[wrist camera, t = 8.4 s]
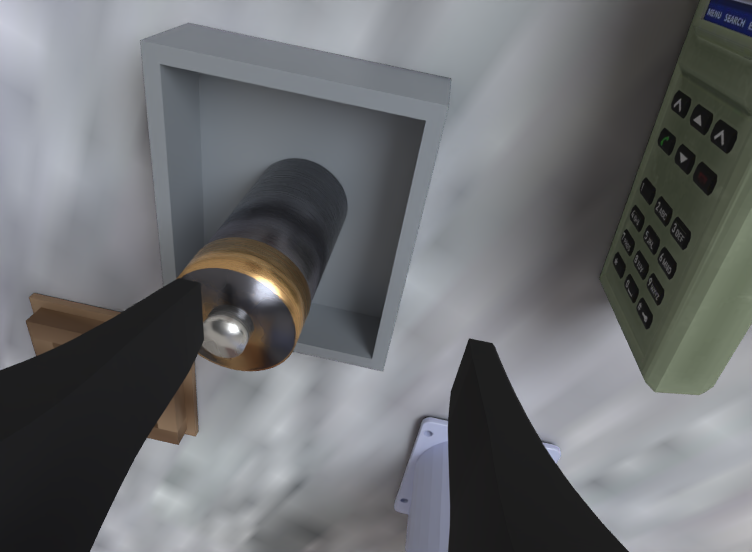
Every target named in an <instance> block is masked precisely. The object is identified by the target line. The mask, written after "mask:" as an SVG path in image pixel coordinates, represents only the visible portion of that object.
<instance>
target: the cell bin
mask: <svg viewBox="0 0 752 552" xmlns="http://www.w3.org/2000/svg"><path fill="white" fill-rule="evenodd" d="M140 45H141V56H142V67H143V77H144V88H145V98H146V109H147V119H148V130H149V141H150V151H151V162H152V172H153V183H154V193H155V204H156V215H157V225H158V236H159V246H160V257H161V267H162V278H163V287H164V286H166V285H167V284H169V283H171V282H172V281H174V280H176V279H177V277H178V276H179V275H180V274H181V272H182V271H183V270H184V269H185V267H186V266H187V265H188V264H189V262H190V261H191V260H192V259H193V257H194V256H195V255H196V254H197V252H198V251H199V250H200V249H201V248H203V247H204V246H205V245H206V244H207V243H208V241H209V240H210V239H211V238H212V236H213V235H214V234H215V233H216V231H217V230H218V229H219V228H220V226H221V225H222V224H223V223H224V221H225V220H226V219H227V218H228V216H229V215H230V214H231V213H232V211H233V210H234V209H235V208H236V206H237V205H238V204H239V203H240V201H241V200H242V199H243V198H244V196H245V195H246V194H247V193H248V191H249V190H250V189H251V188H252V186H253V185H254V184H255V183H256V181H257V180H258V179H259V177H260V176H261V175H262V174H263V172H264V171H265V170H266V169H267V168H268V167H269V166H271V165H272V164H274V163H276V162H278V161H280V160H284V159H289V158H300V159H306V160H310V161H313V162H315V163H318V164H320V165H321V166H323V167H325V168H326V169H327V170H329V171H330V172H331V173H332V174H333V175H334V176H335V177H336V178H337V180H338V181H339V182H340V184H341V185H342V187H343V189H344V192H345V194H346V198H347V204H348V210H347V216H346V219H345V222H344V224H343V227H342V229H341V232H340V234H339V237H338V239H337V241H336V244H335V246H334V249H333V251H332V254H331V256H330V259H329V261H328V263H327V266H326V268H325V271H324V273H323V276H322V278H321V281H320V283H319V285H318V288H317V290H316V293H315V295H314V298H313V300H312V303H311V305H310V310H309V314H308V316H307V319H306V321H305V324H304V326H303V329H302V331H301V334H300V336H299V339H298V341H297V343H296V346H295V348H294V350H293V352H298V353H302V354H307V355H311V356H316V357H320V358H325V359H329V360H334V361H338V362H343V363H347V364H351V365H356V366H360V367H365V368H369V369H374V370H378V371H383V370H384V366H385V362H386V358H387V354H388V350H389V346H390V342H391V338H392V334H393V330H394V325H395V321H396V317H397V313H398V309H399V305H400V301H401V297H402V293H403V289H404V285H405V281H406V277H407V273H408V269H409V265H410V261H411V257H412V253H413V249H414V245H415V241H416V237H417V233H418V229H419V225H420V221H421V217H422V213H423V209H424V205H425V201H426V197H427V193H428V189H429V185H430V181H431V177H432V173H433V169H434V164H435V160H436V156H437V152H438V148H439V144H440V140H441V136H442V132H443V128H444V124H445V120H446V116H447V112H448V108H449V100H450V88H451V78H446V77H442V76H437V75H432V74H428V73H423V72H418V71H413V70H409V69H404V68H399V67H394V66H390V65H385V64H380V63H375V62H371V61H366V60H361V59H357V58H352V57H347V56H342V55H338V54H333V53H328V52H323V51H319V50H314V49H309V48H304V47H300V46H295V45H290V44H286V43H281V42H276V41H271V40H267V39H262V38H257V37H252V36H248V35H243V34H238V33H233V32H229V31H224V30H219V29H215V28H210V27H205V26H200V25H196V24H191V23H187V24H184V25H181V26H179V27H176V28H173V29H170V30H167V31H165V32H162V33H159V34H156V35H154V36H151V37H148V38H145V39H143V40H140Z"/></svg>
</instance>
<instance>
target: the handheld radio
mask: <svg viewBox="0 0 752 552" xmlns="http://www.w3.org/2000/svg"><path fill="white" fill-rule="evenodd" d="M599 280H600V282H601V284H602V287H603V289H604V291H605V293H606V295H607V298H608V300H609V302H610V304H611V307H612V309H613V311H614V313H615V316H616V318H617V320H618V322H619V324H620V327H621V329H622V331H623V333H624V336H625V338H626V340H627V342H628V345H629V347H630V349H631V351H632V353H633V356H634V358H635V360H636V362H637V365H638V367H639V369H640V371H641V374H642V376H643V378H644V380H645V382H646V383H647V384H648V385H649V386H650V388H651V389H652V390H653V391H654V392H661V393H675V394H690V395H700V394H702V393H704V392H706V391H707V390H709V389H710V388H712V387H713V386H714V385H715V383H716V381H717V380H718V378H719V376H720V375H721V373H722V371H723V370H724V368H725V366H726V365H727V363H728V362H729V360H730V358H731V357H732V355H733V353H734V352H735V350H736V348H737V347H738V345H739V343H740V342H741V340H742V339H743V337H744V335H745V334H746V332H747V330H748V329H749V327H750V325H751V324H752V0H700V1H699V4H698V7H697V10H696V12H695V15H694V18H693V20H692V23H691V26H690V29H689V31H688V34H687V37H686V39H685V42H684V45H683V48H682V50H681V53H680V56H679V59H678V61H677V64H676V67H675V70H674V72H673V75H672V78H671V81H670V84H669V86H668V89H667V92H666V95H665V97H664V100H663V103H662V106H661V109H660V111H659V114H658V117H657V120H656V122H655V125H654V128H653V131H652V134H651V136H650V139H649V142H648V145H647V147H646V150H645V153H644V156H643V159H642V161H641V164H640V167H639V170H638V172H637V175H636V178H635V181H634V184H633V186H632V189H631V192H630V195H629V197H628V200H627V203H626V206H625V209H624V211H623V214H622V217H621V220H620V222H619V225H618V228H617V231H616V234H615V236H614V239H613V242H612V245H611V247H610V250H609V253H608V256H607V259H606V261H605V264H604V267H603V270H602V273H601V275H600V279H599Z"/></svg>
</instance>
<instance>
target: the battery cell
mask: <svg viewBox="0 0 752 552" xmlns="http://www.w3.org/2000/svg"><path fill="white" fill-rule="evenodd" d="M347 210H348V204H347V198H346V194H345V192H344V189H343V187H342V185H341V184H340V182H339V181H338V180H337V178H336V177H335V176H334V175H333V174H332V173H331V172H330V171H329V170H327V169H326V168H325V167H323V166H321V165H320V164H318V163H315V162H313V161H310V160H306V159H300V158H289V159H284V160H280V161H278V162H276V163H274V164H272V165H271V166H269V167H268V168H267V169H266V170H265V171H264V172H263V174H262V175H261V176H260V177H259V179H258V180H257V181H256V183H255V184H254V185H253V186H252V188H251V189H250V190H249V191H248V193H247V194H246V195H245V196H244V198H243V199H242V200H241V201H240V203H239V204H238V205H237V206H236V208H235V209H234V210H233V211H232V213H231V214H230V215H229V216H228V218H227V219H226V220H225V221H224V223H223V224H222V225H221V226H220V228H219V229H218V230H217V231H216V233H215V234H214V235H213V236H212V238H211V239H210V240H209V241H208V243H207V244H206V245H205V246H204V247H203V248H201V249H200V250H199V251H198V252H197V254H196V255H195V256H194V257H193V259H192V260H191V261H190V262H189V264H188V265H187V266H186V267H185V269H184V270H183V271H182V272H181V274H180V275H179V276H178V277H177V279H178V278H181V279H185V280H190V281H195V282H200V283H201V297H202V313H203V329H204V341H203V343H202V346H201V348H200V350H199V352H198V354H199V355H200V356H202V357H203V358H205V359H207V360H209V361H211V362H213V363H215V364H218V365H220V366H223V367H226V368H230V369H234V370H241V371H261V370H266V369H270V368H273V367H275V366H277V365H279V364H281V363H282V362H284V361H285V360H286V359H287V358H288V357H289V356H290V355H291V353H292V352H293V350H294V348H295V346H296V343H297V341H298V339H299V336H300V334H301V331H302V329H303V326H304V324H305V321H306V319H307V316H308V314H309V310H310V305H311V303H312V300H313V298H314V295H315V293H316V290H317V288H318V285H319V283H320V281H321V278H322V276H323V273H324V271H325V268H326V266H327V263H328V261H329V259H330V256H331V254H332V251H333V249H334V246H335V244H336V241H337V239H338V237H339V234H340V232H341V229H342V227H343V224H344V222H345V219H346V216H347Z"/></svg>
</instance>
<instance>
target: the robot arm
mask: <svg viewBox="0 0 752 552" xmlns="http://www.w3.org/2000/svg"><path fill="white" fill-rule="evenodd" d="M203 341H204V329H203V313H202V297H201V283H200V282H195V281H190V280H185V279H181V278H178V279H176V280H174V281H172V282H171V283H169V284H167V285H166V286H164V287H163V288H161V289H159V290H158V291H156V292H154V293H153V294H151V295H150V296H148V297H146V298H145V299H143V300H142V301H140V302H138V303H137V304H135V305H133V306H132V307H130V308H128V309H127V310H125V311H123V312H122V313H120V314H118V315H117V316H115V317H113V318H111V319H110V320H108V321H106V322H104V323H102V324H100V325H99V326H97V327H95V328H93V329H91V330H89V331H87V332H86V333H84V334H82V335H80V336H78V337H76V338H74V339H72V340H70V341H68V342H66V343H64V344H62V345H60V346H58V347H56V348H54V349H51V350H49V351H47V352H45V353H42V354H40V355H38V356H36V357H33V358H31V359H29V360H26V361H24V362H21V363H18V364H16V365H13V366H11V367H8V368H5V369H3V370H0V552H90V550H91V548H92V546H93V544H94V541H95V539H96V537H97V535H98V532H99V530H100V528H101V526H102V524H103V522H104V520H105V517H106V515H107V513H108V511H109V509H110V507H111V505H112V503H113V501H114V499H115V497H116V495H117V493H118V490H119V488H120V486H121V485H122V483H123V481H124V479H125V477H126V475H127V473H128V471H129V469H130V467H131V465H132V463H133V461H134V459H135V457H136V455H137V454H138V452H139V450H140V448H141V447H142V445H143V443H144V442H145V440H146V438H147V437H148V435H149V434H150V432H151V431H152V429H153V428H154V426H155V425H156V423H157V421H158V420H159V418H160V417H161V415H162V414H163V412H164V411H165V409H166V408H167V406H168V404H169V403H170V401H171V400H172V398H173V397H174V395H175V394H176V392H177V390H178V389H179V387H180V386H181V384H182V383H183V381H184V379H185V378H186V376H187V375H188V373H189V371H190V369H191V367H192V365H193V363H194V361H195V359H196V357H197V354H198V352H199V350H200V348H201V346H202V343H203ZM560 457H561V451H560V448H559V447H558V446H556V445H553V444H548V443H544V442H542V441H541V440H540V438H539V436H538V434H537V433H536V431H535V429H534V428H533V426H532V424H531V422H530V421H529V419H528V417H527V415H526V413H525V411H524V409H523V407H522V405H521V403H520V402H519V400H518V398H517V396H516V394H515V392H514V390H513V388H512V385H511V383H510V381H509V379H508V377H507V375H506V372H505V370H504V368H503V365H502V363H501V361H500V358H499V356H498V353H497V351H496V348H495V346H494V345H493V343H489V342H484V341H479V340H474V339H470V338H469V340H468V343H467V346H466V349H465V352H464V355H463V358H462V361H461V364H460V367H459V370H458V372H457V375H456V378H455V381H454V384H453V387H452V390H451V395H450V406H449V417H448V421H446V420H441V419H437V418H432V417H428V418H425V419H423V421H422V423H421V426H420V429H419V432H418V435H417V438H416V441H415V444H414V447H413V449H412V452H411V455H410V458H409V461H408V464H407V467H406V470H405V473H404V476H403V479H402V482H401V485H400V488H399V491H398V494H397V497H396V500H395V503H394V509H395V510H396V511H397V512H399V513H403V514H408V523H407V534H406V545H405V552H629V551H628V550H627V549H626V548H625V547H624V546H623V545H622V544H621V543H620V542H619V541H618V540H617V538H616V537H615V536H614V535H613V534H612V533H611V532H610V531H609V530H608V529H607V528H606V527H605V525H604V524H603V523H602V522H601V521H600V520H599V519H598V517H597V516H596V515H595V514H594V513H593V511H592V510H591V509H590V508H589V506H588V505H587V504H586V503H585V502H584V500H583V499H582V498H581V497H580V495H579V494H578V493H577V492H576V491H575V489H574V488H573V487H572V485H571V484H570V483H569V481H568V480H567V479H566V477H565V476H564V474H563V473H562V472H561V470H560V469H559V467H558V466H557V464H556V463H557V462H558V460H559V458H560Z"/></svg>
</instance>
